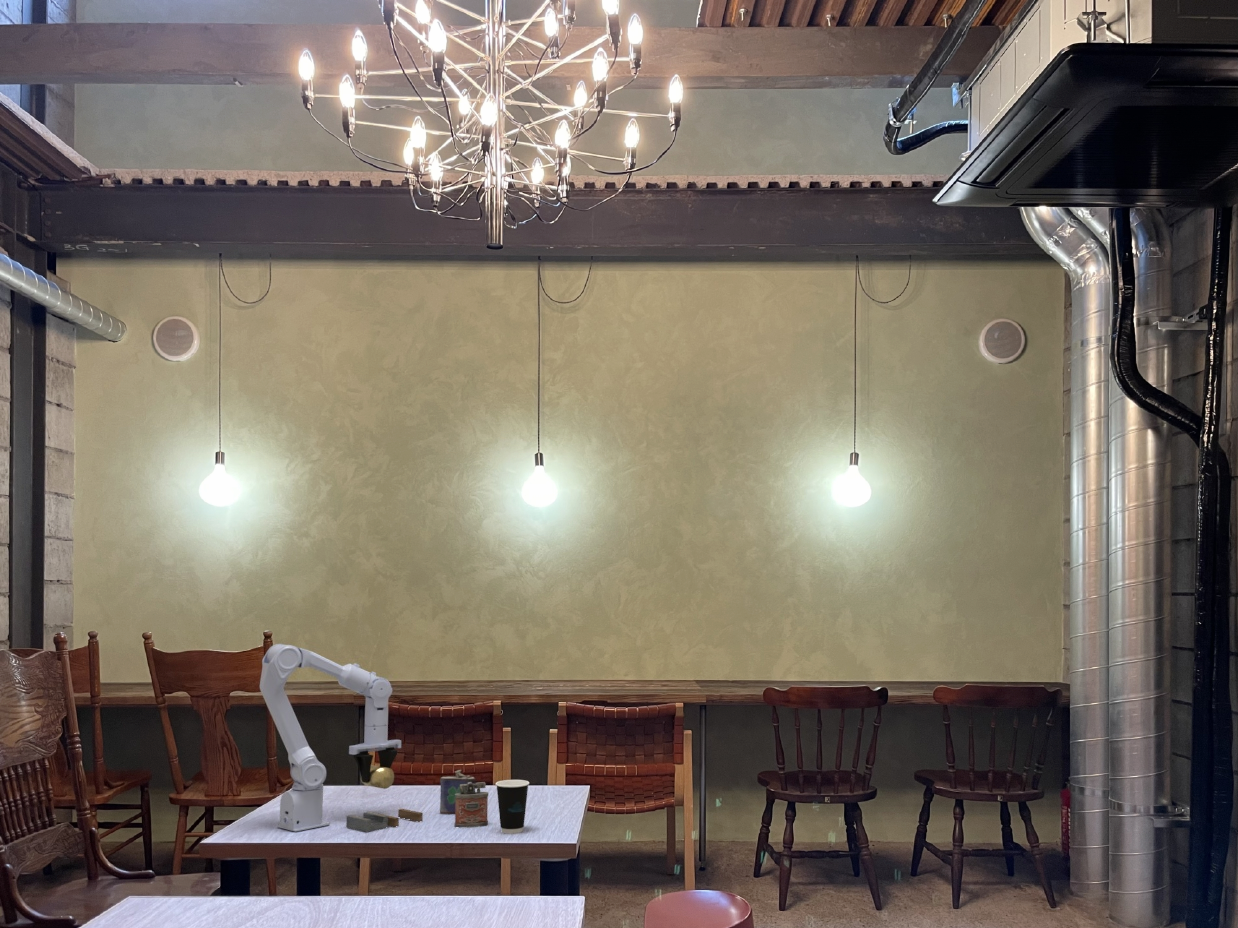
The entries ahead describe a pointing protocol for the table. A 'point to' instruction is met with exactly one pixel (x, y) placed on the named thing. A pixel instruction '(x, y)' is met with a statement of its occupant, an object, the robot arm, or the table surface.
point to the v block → (367, 822)
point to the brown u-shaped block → (404, 814)
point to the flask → (452, 791)
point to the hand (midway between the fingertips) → (374, 780)
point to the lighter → (471, 806)
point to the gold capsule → (380, 777)
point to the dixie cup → (512, 804)
